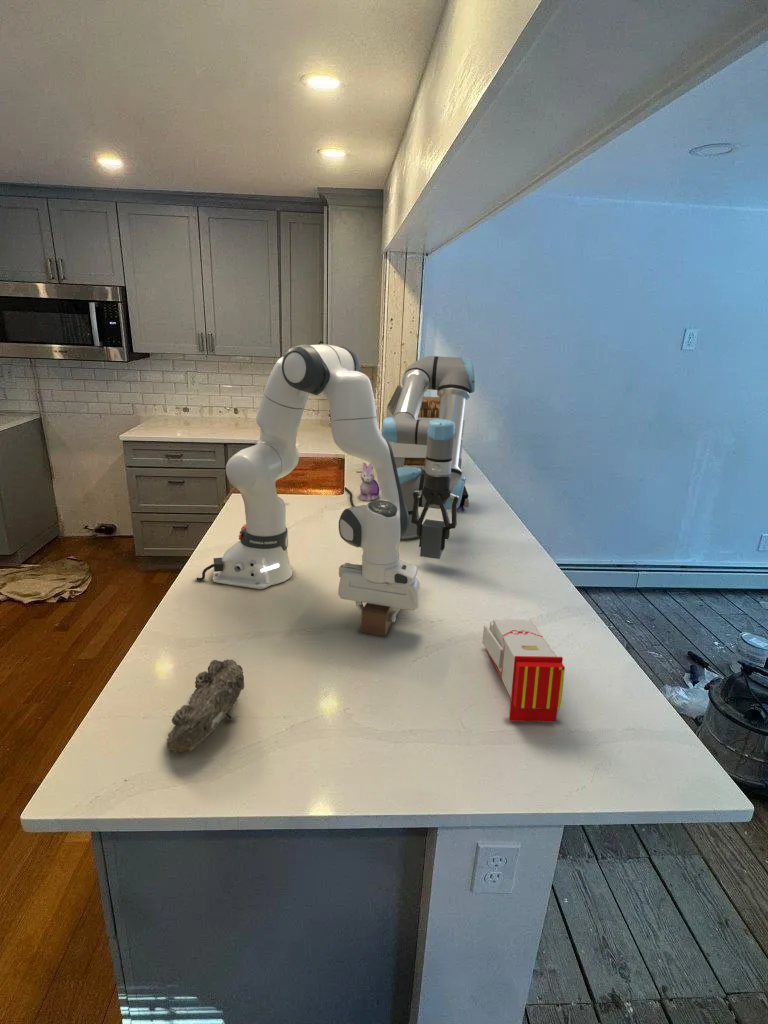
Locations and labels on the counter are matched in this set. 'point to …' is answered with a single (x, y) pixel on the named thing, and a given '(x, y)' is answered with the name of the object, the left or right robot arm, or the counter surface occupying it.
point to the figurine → (368, 484)
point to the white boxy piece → (414, 452)
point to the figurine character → (464, 499)
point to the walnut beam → (376, 619)
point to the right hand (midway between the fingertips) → (431, 546)
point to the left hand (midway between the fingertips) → (377, 618)
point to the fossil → (206, 705)
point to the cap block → (431, 539)
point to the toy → (526, 669)
